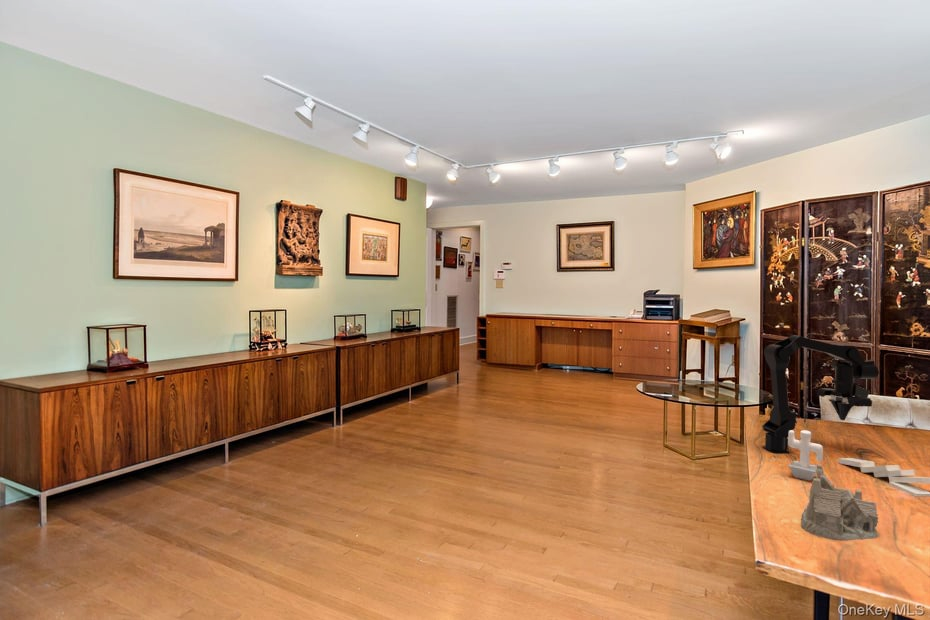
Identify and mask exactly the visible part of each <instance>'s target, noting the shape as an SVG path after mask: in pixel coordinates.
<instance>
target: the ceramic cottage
mask: <svg viewBox="0 0 930 620" xmlns="http://www.w3.org/2000/svg"><path fill="white" fill-rule="evenodd" d="M815 475H816V478H815V477H813V479H812V481H811V485H810V489H809V495H808V496H809V500H808V503H807V505H806V507H805V508H804V510H803V512H802V513H801V518H800V527H801V528H802V529H803V530H804V531H806V533H807V532H808V533H809V534H812V535H814V536H818V537H821V538H823V539H824V538H826V539H830V540H836V541H837V540H839V541H851V540H852V541H854V540H874V539H877V538H878V537H879V535H878V531H877V526H878V523H879V517H878V516H879V514H877V512H878V511H877V510H878V509H877V503H876V502H873V501H868V500H863V493H862V492H863V491H862V490H860V489H856V490H855V491H854V493H853V492H852V491H851V490H850V489H849V488H848V489H843V488H838V487H835V484H833V483H832V482H831V481H830V479H828V477H827V474H825V473H824V468H823V465H822V464H817V470H816V474H815Z"/></svg>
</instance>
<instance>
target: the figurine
mask: <svg viewBox="0 0 930 620" xmlns="http://www.w3.org/2000/svg"><path fill="white" fill-rule="evenodd" d="M799 433H800V435H799V436H800V440H799V439H796V436H795V430H794V429H793V430H790V431H789V433H788V438H787V439H788V446H789V447H790V448H792V449H797V450H799V451H800V452H799V453H800V454H799V461H798V460H793V461H792V462H791V463H790V464H788V468H789V470H790V472H791V473H792V477H794V478H797V479H801V480H805V481H809V482H812V481H813V478H815V476H816V475H817V474H816V470H817V465H818V464H817V465H816V464H811V463H810V456H811V455H810V454H811V453H815V455H816V457H815V460H816V462H818V463H822V462H823V459H824V446H823V445H821V444H820V443H814V442H811V438H812V432H811V431H810V430H806V429H803V430H801V431H800V432H799Z"/></svg>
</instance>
